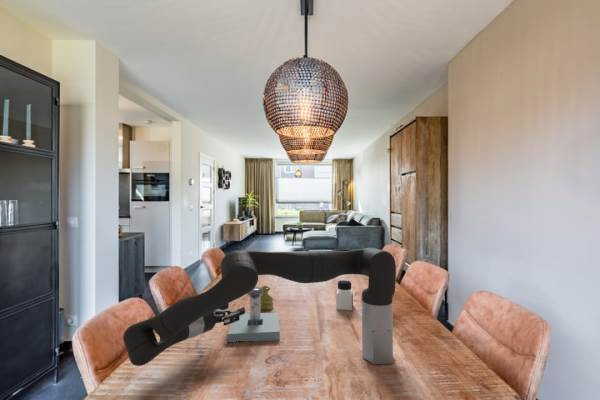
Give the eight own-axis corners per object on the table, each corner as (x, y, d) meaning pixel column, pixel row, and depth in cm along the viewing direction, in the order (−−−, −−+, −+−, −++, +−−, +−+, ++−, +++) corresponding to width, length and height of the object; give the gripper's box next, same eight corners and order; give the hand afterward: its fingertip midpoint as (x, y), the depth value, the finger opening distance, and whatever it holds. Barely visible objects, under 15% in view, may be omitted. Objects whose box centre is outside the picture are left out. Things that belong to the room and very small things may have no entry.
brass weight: (276, 307, 136) (276, 285, 136) (266, 312, 130) (265, 289, 130) (264, 304, 140) (263, 283, 140) (253, 309, 134) (253, 286, 134)
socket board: (279, 340, 104) (279, 331, 104) (227, 342, 102) (227, 334, 102) (278, 319, 122) (278, 312, 122) (234, 321, 120) (234, 314, 120)
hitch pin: (263, 333, 109) (262, 291, 109) (246, 334, 109) (246, 291, 109) (263, 326, 115) (263, 286, 115) (247, 327, 115) (247, 287, 115)
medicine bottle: (352, 310, 131) (352, 283, 131) (336, 309, 133) (335, 282, 133) (352, 305, 138) (352, 279, 138) (337, 304, 140) (337, 278, 140)
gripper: (210, 315, 88) (250, 300, 101) (182, 305, 96) (222, 293, 109) (210, 341, 88) (250, 323, 101) (182, 328, 96) (222, 313, 109)
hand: (235, 307), depth 105 cm, fingers open, 8 cm apart
